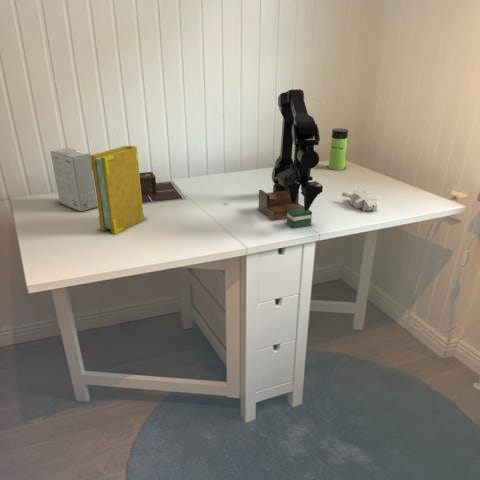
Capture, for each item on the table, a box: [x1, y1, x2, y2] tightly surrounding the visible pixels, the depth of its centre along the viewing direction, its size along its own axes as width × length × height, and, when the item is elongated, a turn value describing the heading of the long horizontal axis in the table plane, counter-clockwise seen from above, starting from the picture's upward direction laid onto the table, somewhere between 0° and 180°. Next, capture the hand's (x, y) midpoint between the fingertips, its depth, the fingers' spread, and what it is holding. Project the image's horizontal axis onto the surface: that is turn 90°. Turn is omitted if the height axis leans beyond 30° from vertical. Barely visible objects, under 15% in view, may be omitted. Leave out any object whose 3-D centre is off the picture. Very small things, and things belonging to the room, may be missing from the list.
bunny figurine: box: [341, 189, 378, 212], centre depth 197 cm, size 10×5×15 cm
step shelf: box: [258, 189, 304, 221], centre depth 190 cm, size 13×12×8 cm
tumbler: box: [328, 127, 349, 171], centre depth 240 cm, size 8×8×17 cm
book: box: [90, 145, 145, 235], centre depth 175 cm, size 17×7×25 cm, turn 148°
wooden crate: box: [139, 171, 158, 197], centre depth 210 cm, size 7×7×7 cm
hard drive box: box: [50, 147, 98, 212], centre depth 193 cm, size 16×8×20 cm, turn 47°
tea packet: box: [286, 208, 313, 229], centre depth 180 cm, size 7×5×5 cm
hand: (299, 206), depth 178 cm, fingers open, 9 cm apart
